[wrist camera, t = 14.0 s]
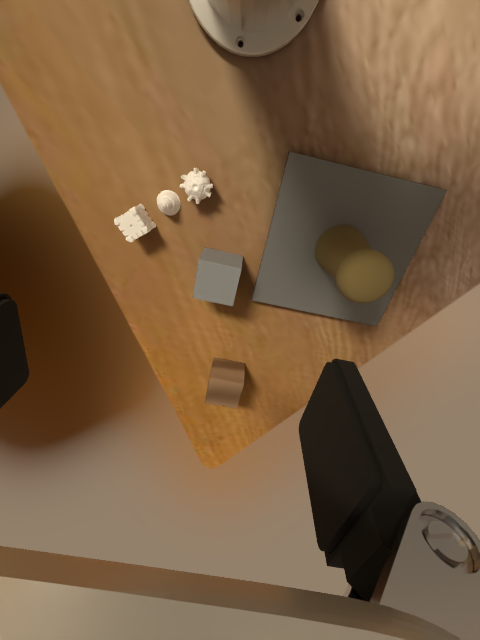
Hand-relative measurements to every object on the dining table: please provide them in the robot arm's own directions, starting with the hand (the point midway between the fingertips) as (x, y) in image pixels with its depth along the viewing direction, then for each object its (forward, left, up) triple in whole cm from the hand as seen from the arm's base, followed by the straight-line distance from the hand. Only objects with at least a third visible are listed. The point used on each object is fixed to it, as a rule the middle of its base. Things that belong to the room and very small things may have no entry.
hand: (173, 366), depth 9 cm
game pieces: (+1, -7, -31) cm, 32 cm away
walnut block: (+25, +4, -30) cm, 40 cm away
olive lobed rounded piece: (+2, +14, -30) cm, 33 cm away
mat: (+2, +14, -30) cm, 33 cm away
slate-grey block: (+8, 0, -30) cm, 31 cm away
